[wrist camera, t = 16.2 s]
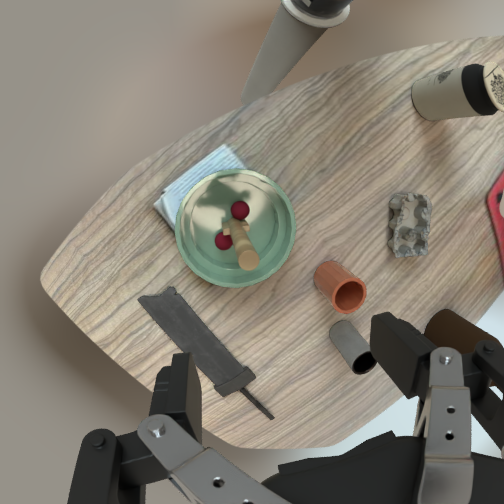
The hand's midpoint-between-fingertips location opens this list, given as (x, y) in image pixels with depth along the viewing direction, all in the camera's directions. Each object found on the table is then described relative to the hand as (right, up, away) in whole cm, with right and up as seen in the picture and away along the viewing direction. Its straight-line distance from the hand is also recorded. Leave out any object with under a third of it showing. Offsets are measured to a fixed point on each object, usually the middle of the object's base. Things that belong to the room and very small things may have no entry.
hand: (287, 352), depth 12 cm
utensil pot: (+11, 0, +35) cm, 37 cm away
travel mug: (+30, +32, +29) cm, 52 cm away
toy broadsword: (-7, -15, +37) cm, 40 cm away
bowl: (-4, +8, +31) cm, 32 cm away
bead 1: (-5, +6, +29) cm, 30 cm away
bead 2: (-3, +10, +28) cm, 30 cm away
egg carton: (+25, +9, +35) cm, 44 cm away
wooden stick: (-4, +8, +30) cm, 32 cm away
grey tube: (+14, -10, +38) cm, 42 cm away
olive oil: (+40, -13, +43) cm, 60 cm away
